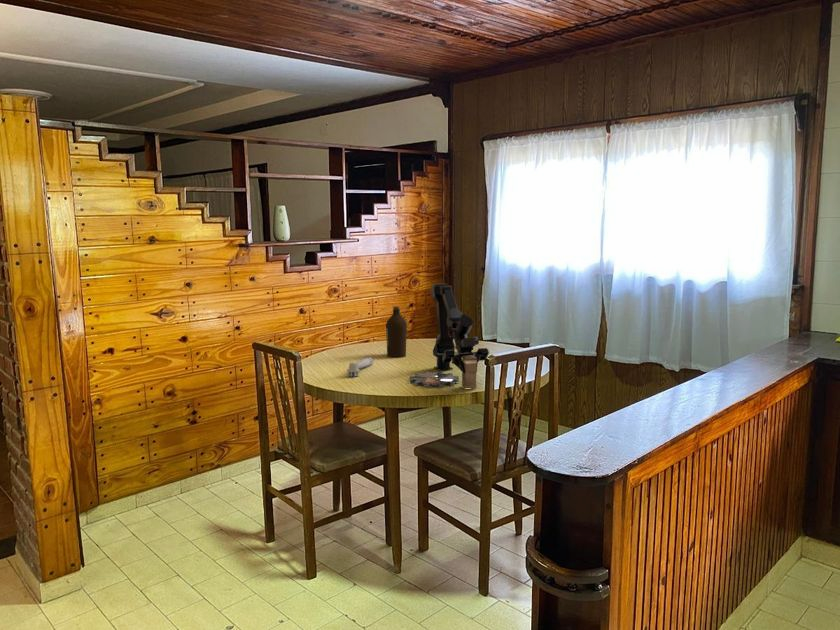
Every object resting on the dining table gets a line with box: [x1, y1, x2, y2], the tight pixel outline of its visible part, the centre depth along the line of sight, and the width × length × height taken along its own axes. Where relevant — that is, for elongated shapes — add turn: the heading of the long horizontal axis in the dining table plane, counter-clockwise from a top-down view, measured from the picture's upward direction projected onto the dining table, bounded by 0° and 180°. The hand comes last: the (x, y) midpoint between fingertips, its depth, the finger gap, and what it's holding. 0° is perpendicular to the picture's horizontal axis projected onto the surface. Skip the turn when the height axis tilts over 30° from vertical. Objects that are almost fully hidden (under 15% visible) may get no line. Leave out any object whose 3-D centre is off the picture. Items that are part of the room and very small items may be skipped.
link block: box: [461, 355, 478, 389], centre depth 253 cm, size 5×5×13 cm
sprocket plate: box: [408, 371, 460, 389], centre depth 264 cm, size 21×21×2 cm
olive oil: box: [385, 305, 408, 359], centre depth 311 cm, size 11×11×25 cm
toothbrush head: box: [346, 357, 374, 378], centre depth 282 cm, size 5×7×25 cm
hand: (470, 372), depth 252 cm, fingers closed on link block, 4 cm apart
